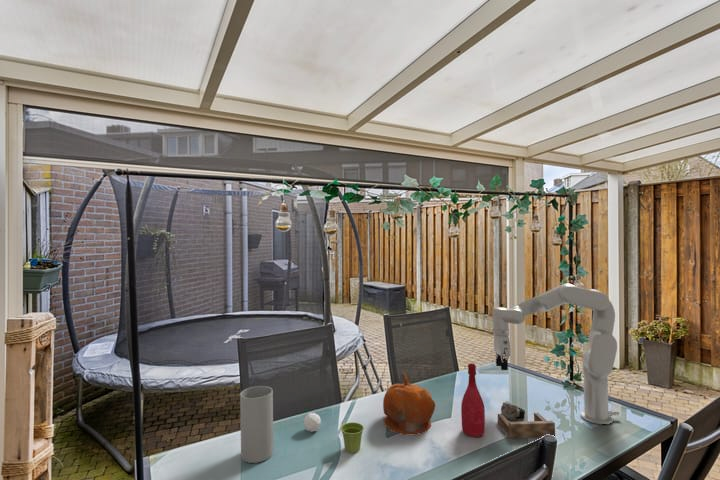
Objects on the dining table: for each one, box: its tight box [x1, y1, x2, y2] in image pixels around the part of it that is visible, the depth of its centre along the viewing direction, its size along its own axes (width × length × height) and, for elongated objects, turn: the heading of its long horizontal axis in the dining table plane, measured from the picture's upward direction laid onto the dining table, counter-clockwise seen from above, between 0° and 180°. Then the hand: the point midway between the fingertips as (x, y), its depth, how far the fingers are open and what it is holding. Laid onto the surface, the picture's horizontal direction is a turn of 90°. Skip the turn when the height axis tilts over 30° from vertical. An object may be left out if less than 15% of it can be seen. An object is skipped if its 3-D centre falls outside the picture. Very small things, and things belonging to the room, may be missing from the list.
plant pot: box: [340, 422, 365, 454], centre depth 150 cm, size 9×9×9 cm
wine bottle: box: [460, 362, 486, 438], centre depth 161 cm, size 10×10×30 cm
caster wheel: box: [500, 401, 526, 422], centre depth 176 cm, size 7×11×10 cm
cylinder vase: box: [239, 385, 275, 464], centre depth 147 cm, size 12×12×25 cm
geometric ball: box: [303, 412, 322, 433], centre depth 165 cm, size 8×8×8 cm
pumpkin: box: [382, 371, 436, 435], centre depth 172 cm, size 22×25×23 cm
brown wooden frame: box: [497, 412, 556, 440], centre depth 163 cm, size 19×14×6 cm
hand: (501, 367), depth 187 cm, fingers open, 5 cm apart
